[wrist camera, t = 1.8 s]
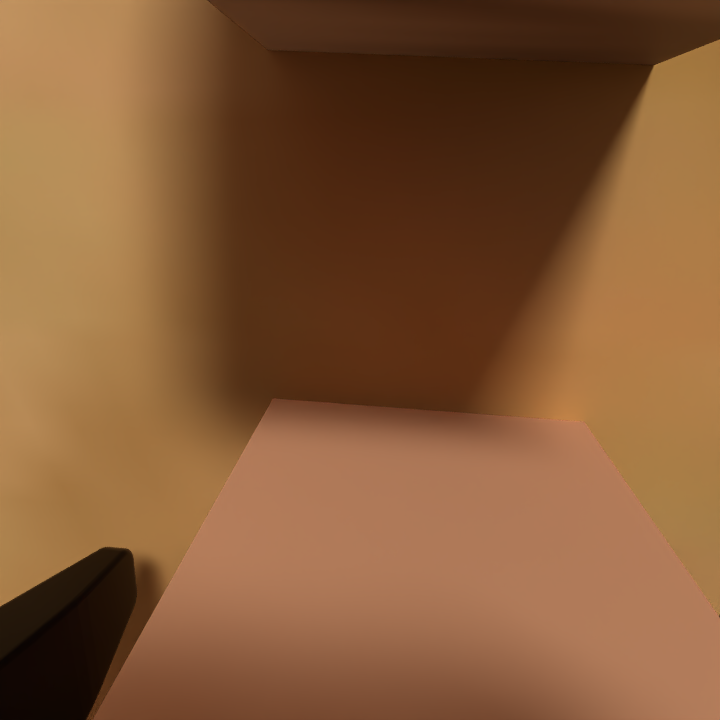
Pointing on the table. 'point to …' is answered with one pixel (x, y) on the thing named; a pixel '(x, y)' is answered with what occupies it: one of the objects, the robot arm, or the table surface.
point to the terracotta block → (424, 582)
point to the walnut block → (484, 27)
